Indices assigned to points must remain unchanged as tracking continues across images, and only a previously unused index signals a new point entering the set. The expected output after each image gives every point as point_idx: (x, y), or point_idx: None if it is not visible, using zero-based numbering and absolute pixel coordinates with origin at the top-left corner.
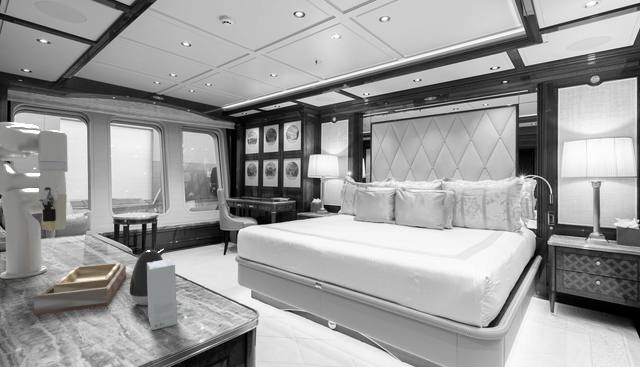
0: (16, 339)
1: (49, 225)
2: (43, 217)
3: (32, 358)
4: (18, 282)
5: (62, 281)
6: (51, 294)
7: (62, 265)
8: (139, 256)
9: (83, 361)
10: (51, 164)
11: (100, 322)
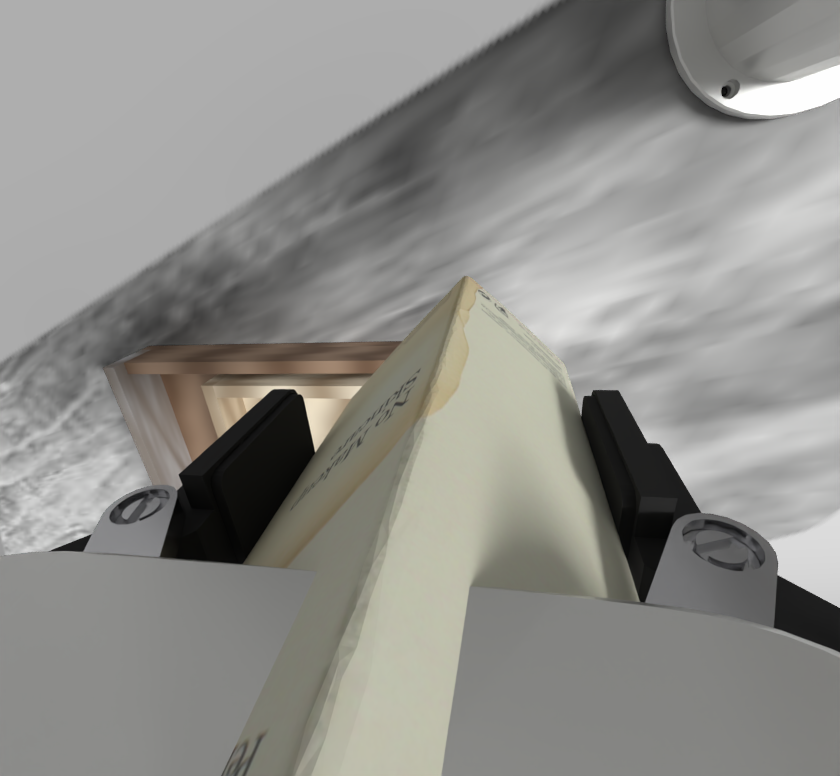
0: (34, 364)
1: (359, 396)
2: (255, 412)
3: None
4: (565, 66)
5: (246, 396)
6: (120, 408)
7: None
8: None
9: None
10: None
11: (116, 491)
